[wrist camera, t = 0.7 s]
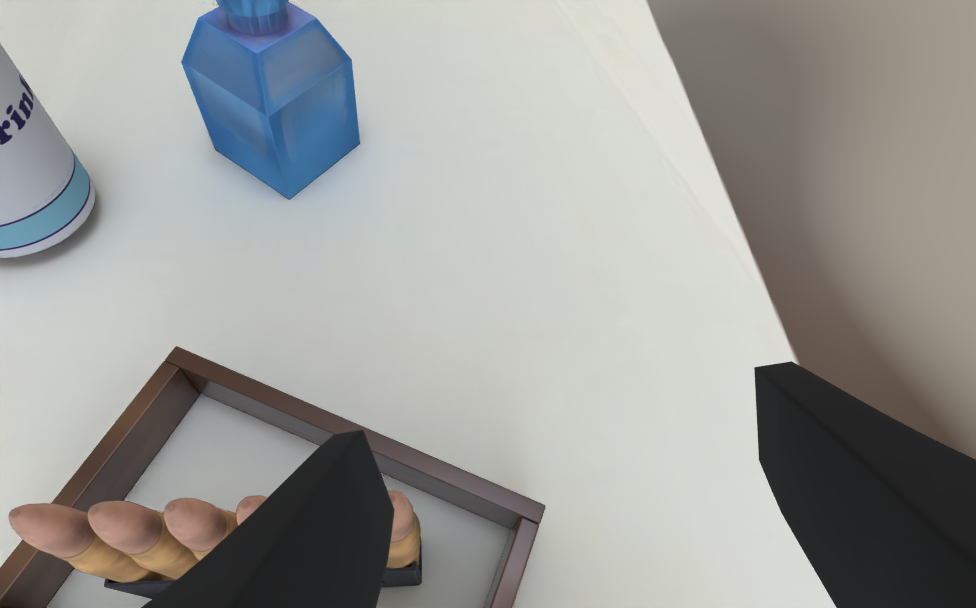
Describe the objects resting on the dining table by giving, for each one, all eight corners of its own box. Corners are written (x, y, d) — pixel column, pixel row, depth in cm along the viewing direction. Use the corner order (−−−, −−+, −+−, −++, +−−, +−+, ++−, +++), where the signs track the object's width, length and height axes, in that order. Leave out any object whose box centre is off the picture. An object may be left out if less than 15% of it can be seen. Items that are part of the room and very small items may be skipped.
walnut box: (426, 836, 21) (428, 861, 18) (8, 625, 22) (-44, 621, 20) (533, 519, 27) (546, 505, 24) (196, 373, 28) (175, 345, 26)
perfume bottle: (214, 149, 36) (137, -53, 26) (288, 99, 39) (244, -100, 29) (289, 199, 34) (238, 7, 24) (359, 143, 37) (340, -49, 27)
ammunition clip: (153, 600, 23) (-49, 557, 13) (163, 550, 24) (-17, 474, 14) (421, 585, 25) (428, 535, 14) (421, 538, 26) (428, 461, 15)
